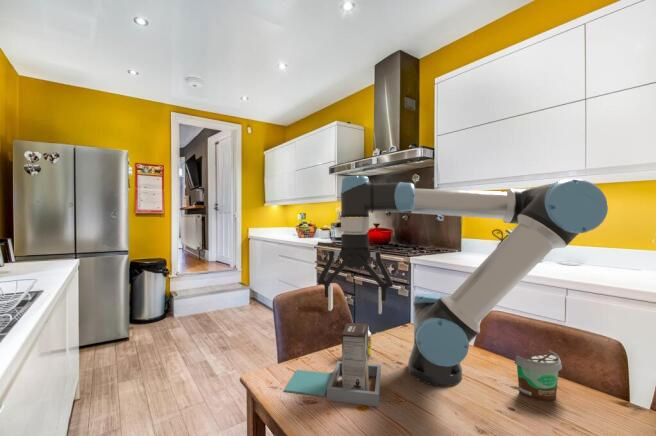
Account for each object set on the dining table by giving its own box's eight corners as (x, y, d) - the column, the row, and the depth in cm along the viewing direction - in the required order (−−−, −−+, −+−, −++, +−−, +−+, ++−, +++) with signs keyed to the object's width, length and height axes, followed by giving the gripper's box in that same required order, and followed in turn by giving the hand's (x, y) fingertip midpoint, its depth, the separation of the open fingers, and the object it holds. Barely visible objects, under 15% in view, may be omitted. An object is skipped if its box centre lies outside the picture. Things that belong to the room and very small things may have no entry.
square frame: (381, 375, 89) (381, 365, 89) (378, 406, 74) (378, 394, 74) (337, 370, 92) (337, 361, 92) (326, 400, 77) (326, 388, 77)
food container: (536, 408, 74) (536, 366, 74) (514, 393, 79) (514, 355, 79) (574, 399, 77) (574, 360, 77) (550, 386, 83) (550, 349, 83)
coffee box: (346, 377, 88) (346, 322, 88) (368, 379, 87) (368, 323, 87) (341, 395, 79) (341, 333, 79) (366, 398, 78) (366, 335, 78)
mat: (332, 374, 89) (332, 373, 89) (324, 396, 79) (324, 394, 79) (296, 371, 92) (296, 369, 92) (284, 391, 81) (284, 389, 81)
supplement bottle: (363, 362, 97) (363, 330, 97) (350, 356, 101) (350, 326, 101) (374, 356, 101) (374, 325, 101) (361, 351, 105) (361, 321, 105)
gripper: (401, 233, 84) (401, 309, 84) (314, 232, 89) (314, 304, 89) (402, 234, 76) (402, 318, 77) (307, 233, 82) (307, 312, 82)
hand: (354, 311), depth 83 cm, fingers open, 13 cm apart
